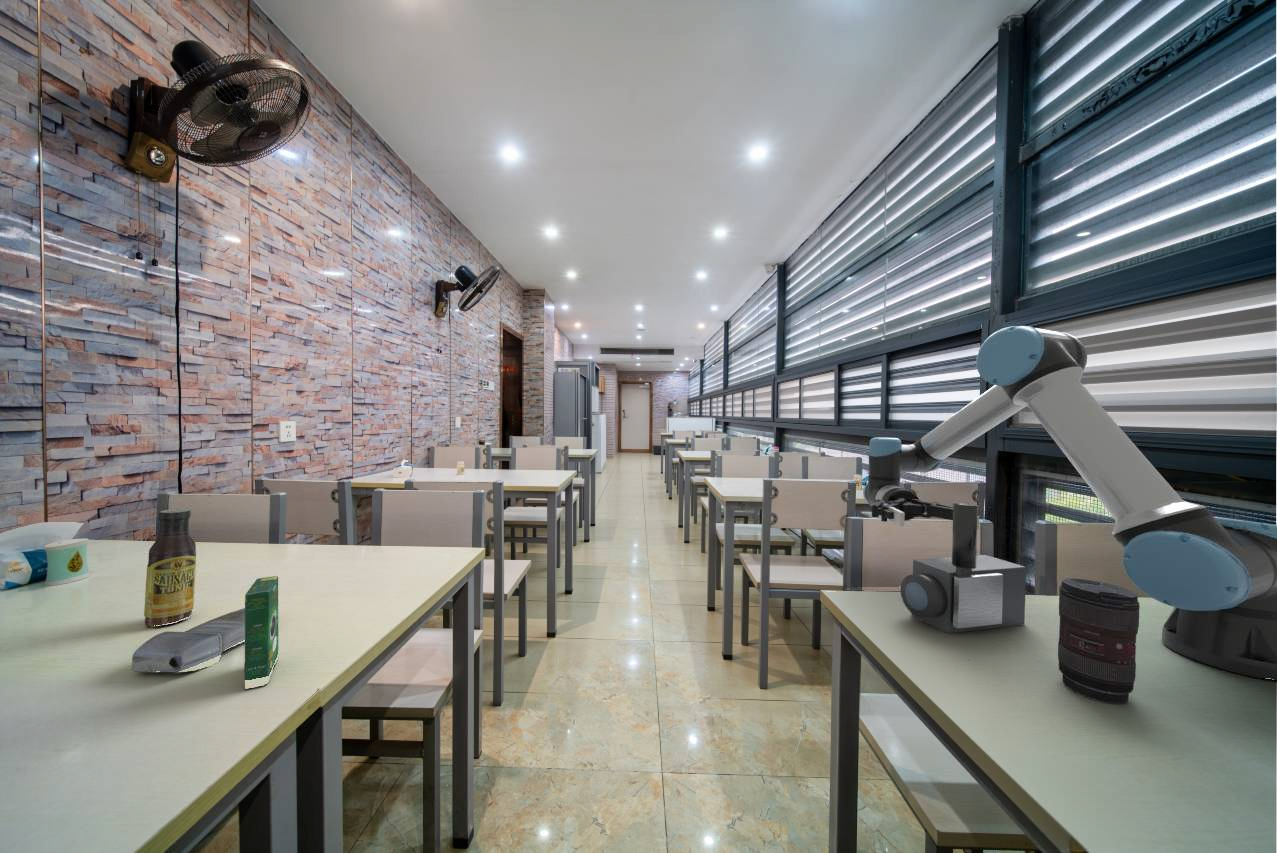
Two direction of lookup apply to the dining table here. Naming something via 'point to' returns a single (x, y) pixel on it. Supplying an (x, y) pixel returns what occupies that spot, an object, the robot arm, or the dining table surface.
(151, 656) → the handheld device
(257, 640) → the coffee box
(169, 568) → the sauce bottle
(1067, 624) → the camera lens
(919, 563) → the camera housing
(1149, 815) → the dining table surface
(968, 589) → the side door
